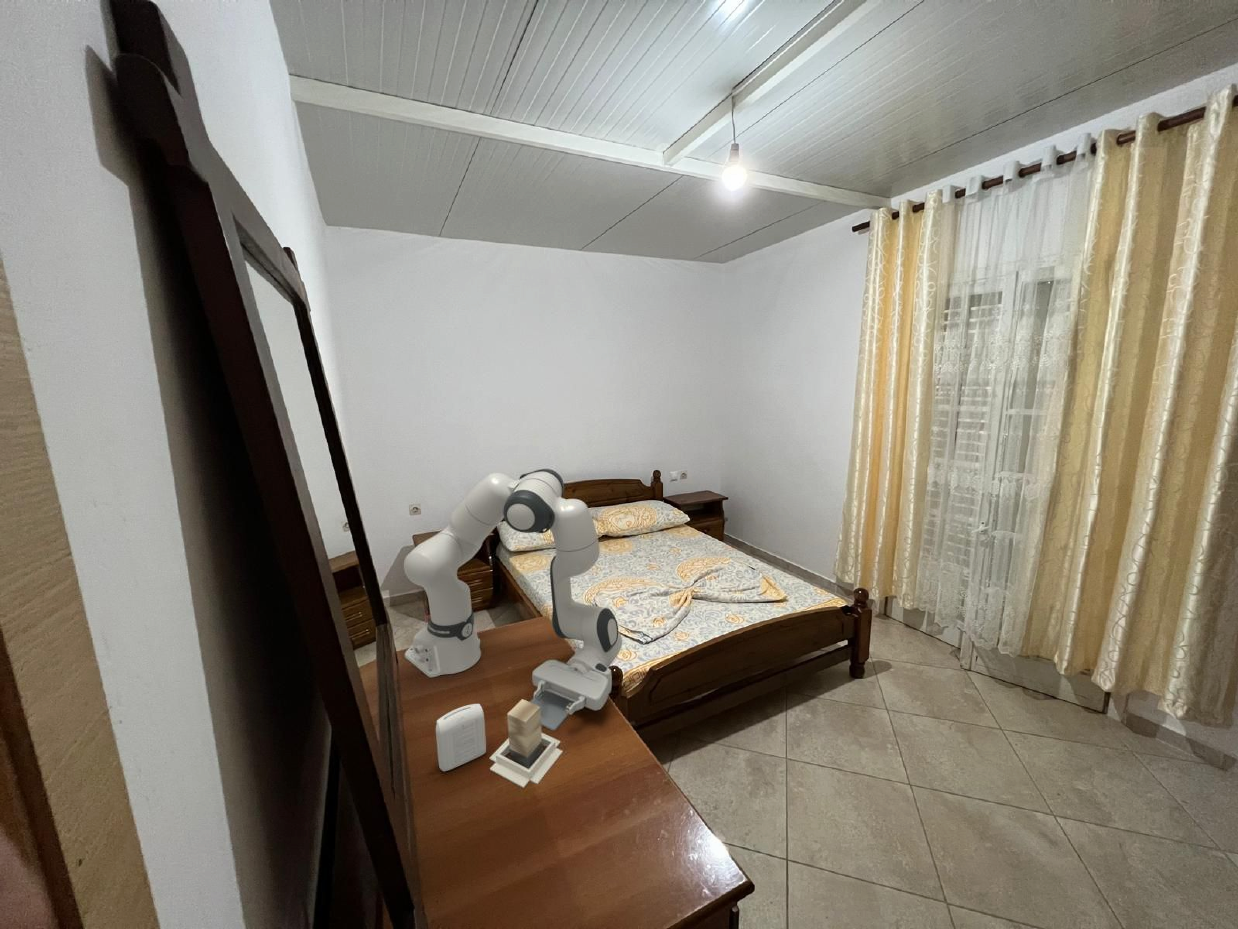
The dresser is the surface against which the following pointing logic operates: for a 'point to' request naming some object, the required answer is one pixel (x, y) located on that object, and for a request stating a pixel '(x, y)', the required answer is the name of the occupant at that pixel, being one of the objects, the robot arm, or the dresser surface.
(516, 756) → the block
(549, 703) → the slate mat
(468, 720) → the photo printer
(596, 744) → the dresser surface
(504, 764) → the flanged square frame
